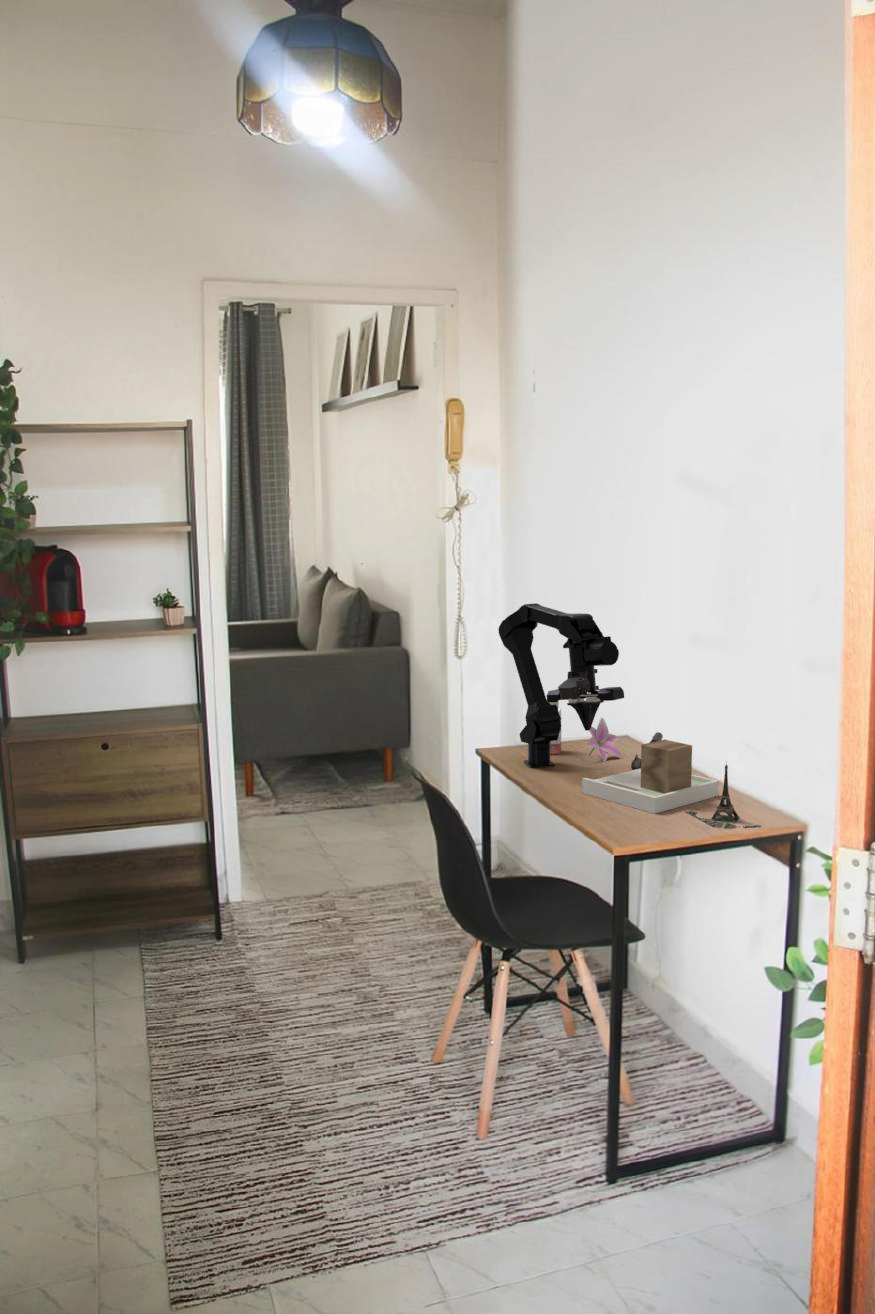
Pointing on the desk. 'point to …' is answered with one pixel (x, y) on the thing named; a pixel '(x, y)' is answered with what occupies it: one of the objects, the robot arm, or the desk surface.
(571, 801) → the desk surface
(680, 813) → the desk surface
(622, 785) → the box
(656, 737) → the portable electronic device stand
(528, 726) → the robot arm
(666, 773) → the walnut block
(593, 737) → the lily
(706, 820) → the eiffel tower figurine
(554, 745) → the ink cartridge box
